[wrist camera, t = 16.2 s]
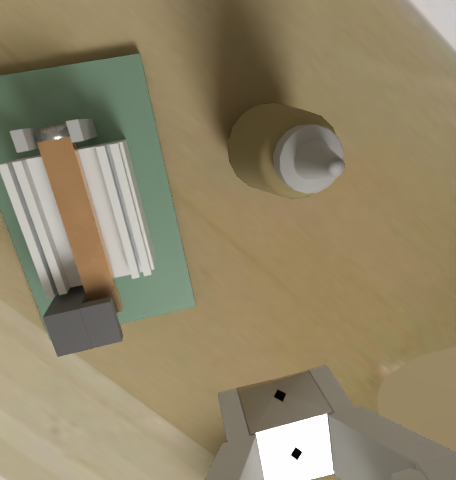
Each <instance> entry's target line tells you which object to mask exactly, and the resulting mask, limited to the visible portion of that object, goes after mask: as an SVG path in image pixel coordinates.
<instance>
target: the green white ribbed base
mask: <svg viewBox="0 0 456 480" xmlns="http://www.w3.org/2000/svg"><path fill="white" fill-rule="evenodd" d="M65 123H66V124H67V127H68V131H69V134H70V137H71V141H72V143H74V142H76V146H77V149H78V153H79V156H80V160H81V163H82V166H83V170H84V173H85V177H86V180H87V184H88V187H89V191H90V194H91V198H92V201H93V204H94V208H95V211H96V215H97V218H98V222H99V225H100V229H101V232H102V235H103V239H104V242H105V246H106V249H107V253H108V256H109V260H110V263H111V267H112V270H113V273H114V277H115V280H116V284H117V287H118V291H119V294H120V298H121V301H122V304H123V308H122V312H118V313H117V317H118V320H119V323H120V324H123V323H127V322H132V321H136V320H140V319H145V318H149V317H153V316H157V315H162V314H166V313H170V312H175V311H179V310H183V309H188V308H192V307H196V305H195V300H194V295H193V291H192V286H191V282H190V277H189V273H188V268H187V264H186V259H185V255H184V250H183V246H182V241H181V237H180V232H179V228H178V223H177V218H176V214H175V209H174V205H173V200H172V196H171V191H170V187H169V182H168V178H167V173H166V169H165V164H164V160H163V155H162V151H161V146H160V142H159V137H158V133H157V128H156V124H155V119H154V115H153V110H152V106H151V101H150V97H149V92H148V88H147V83H146V79H145V74H144V70H143V65H142V61H141V56H140V53H139V54H133V55H127V56H120V57H114V58H108V59H101V60H95V61H89V62H83V63H76V64H70V65H64V66H57V67H51V68H45V69H38V70H32V71H26V72H20V73H13V74H7V75H1V76H0V210H1V213H2V215H3V218H4V221H5V223H6V226H7V229H8V231H9V234H10V236H11V239H12V242H13V244H14V247H15V249H16V252H17V255H18V257H19V260H20V263H21V265H22V268H23V270H24V273H25V276H26V278H27V281H28V283H29V286H30V289H31V291H32V294H33V297H34V299H35V302H36V304H37V307H38V310H39V312H40V315H41V318H42V320H43V316H44V314H45V312H46V311H47V309H48V307H49V306H50V304H51V302H52V300H53V299H54V297H55V295H56V294H57V292H58V293H59V295H62V294H67V293H68V291H69V289H70V288H71V287H76V286H80V285H83V284H82V281H81V278H80V275H79V272H78V269H77V266H76V263H75V259H74V256H73V253H72V250H71V247H70V244H69V241H68V238H67V234H66V231H65V228H64V225H63V222H62V219H61V216H60V213H59V210H58V206H57V203H56V200H55V197H54V194H53V191H52V188H51V185H50V182H49V178H48V175H47V172H46V169H45V166H44V163H43V160H42V157H41V154H40V150H39V147H38V144H37V140H36V137H35V132H34V131H35V129H36V128H42V127H48V126H54V125H59V124H65ZM43 323H44V325H45V322H44V320H43ZM45 328H46V331H47V333H48V330H47V327H46V325H45ZM48 336H49V338H50V335H49V333H48ZM50 340H51V338H50Z"/></svg>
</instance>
